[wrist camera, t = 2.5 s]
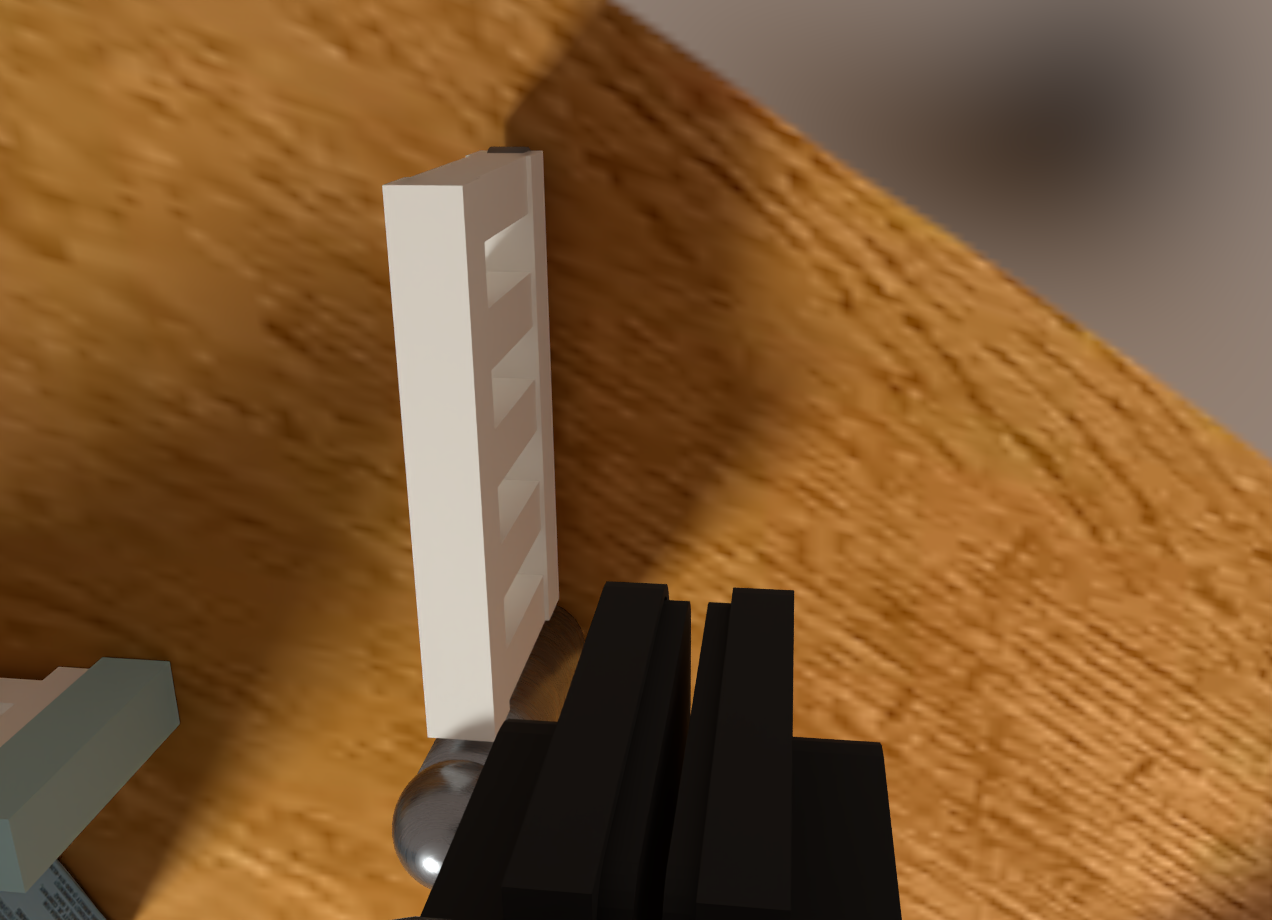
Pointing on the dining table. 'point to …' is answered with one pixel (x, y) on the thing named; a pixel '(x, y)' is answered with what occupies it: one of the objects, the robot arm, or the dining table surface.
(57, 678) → the fence panel
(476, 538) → the gate
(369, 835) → the dining table surface
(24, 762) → the block
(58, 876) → the gum box
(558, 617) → the hinge post
